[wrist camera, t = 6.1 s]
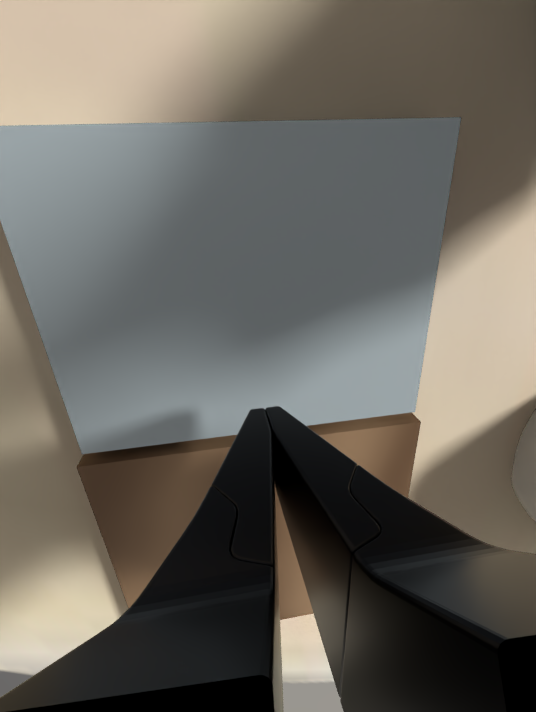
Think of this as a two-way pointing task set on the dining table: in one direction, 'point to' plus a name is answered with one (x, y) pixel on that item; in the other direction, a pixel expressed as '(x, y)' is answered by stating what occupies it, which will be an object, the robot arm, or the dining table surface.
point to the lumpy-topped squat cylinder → (526, 468)
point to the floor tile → (228, 267)
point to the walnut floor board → (191, 483)
